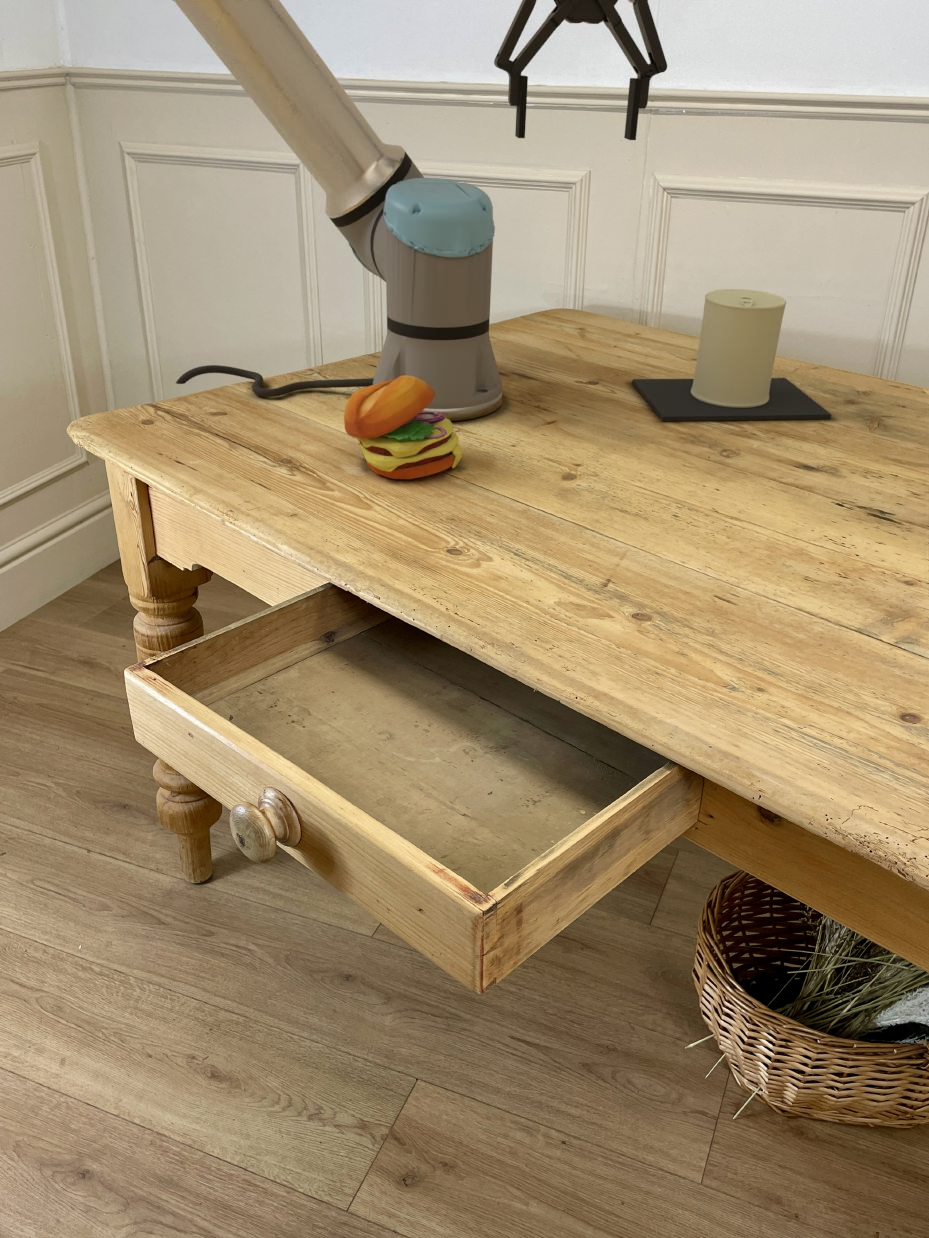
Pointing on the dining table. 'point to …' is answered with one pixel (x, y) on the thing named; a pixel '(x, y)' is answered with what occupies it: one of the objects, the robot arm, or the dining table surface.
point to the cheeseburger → (401, 429)
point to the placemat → (680, 405)
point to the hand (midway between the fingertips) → (575, 138)
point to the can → (737, 347)
